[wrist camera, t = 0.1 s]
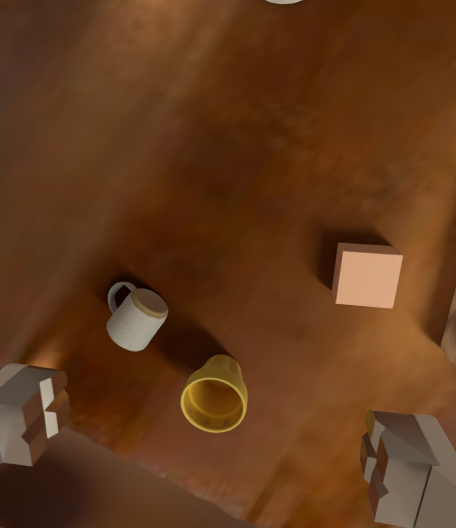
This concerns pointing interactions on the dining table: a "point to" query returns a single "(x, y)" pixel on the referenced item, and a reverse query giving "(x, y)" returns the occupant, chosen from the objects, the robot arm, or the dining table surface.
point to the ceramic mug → (135, 317)
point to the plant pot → (215, 395)
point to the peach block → (366, 275)
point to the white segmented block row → (450, 333)
